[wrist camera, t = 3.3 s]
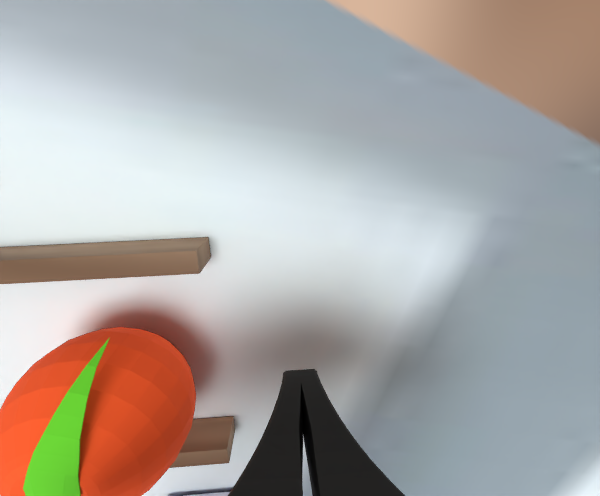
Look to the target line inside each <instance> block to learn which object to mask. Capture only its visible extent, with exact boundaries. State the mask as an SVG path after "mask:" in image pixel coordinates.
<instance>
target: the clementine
mask: <svg viewBox="0 0 600 496" xmlns="http://www.w3.org/2000/svg"><path fill="white" fill-rule="evenodd" d="M195 401H196V391H195V386H194V380H193V376H192V372H191V368H190V366H189V365H188V363H187V361H186V360H185V358H184V356H183V355H182V354H181V353H180V352H179V351H178V350H177V349H176V348H175V347H174V346H173V345H172V344H171V343H170V342H169V341H168V340H166V339H164V338H163V337H161V336H159V335H158V334H155V333H152V332H149V331H146V330H141V329H134V328H125V327H115V328H106V329H100V330H97V331H94V332H90V333H87V334H84V335H82V336H79V337H76V338H73V339H70V340H68V341H66V342H65V343H63V344H62V345H60V346H59V347H57V348H56V349H54V350H53V351H51V352H50V353H48V354H47V355H45V356H44V357H43V358H41V359H40V360H39V361H37V362H36V363H34V364H33V365H32V366H31V368H30V369H29V370H28V371H27V372H26V373H25V374H24V375H23V376H22V377H21V379H20V380H19V381H18V382H17V383H16V384H15V386H14V387H13V389H12V390H11V392H10V393H9V395H8V396H7V397H6V399H5V401H4V403H3V405H2V407H1V409H0V495H1V496H141V495H143V494H144V493H146V492H147V491H149V490H150V488H151V487H152V486H153V485H154V484H155V483H156V482H157V481H158V480H159V479H160V478H161V477H162V475H163V474H164V473H165V472H166V471H167V470H168V468H169V467H170V466H171V465H172V464H173V463H174V461H175V460H176V458H177V456H178V454H179V452H180V450H181V448H182V446H183V444H184V442H185V440H186V438H187V435H188V433H189V431H190V429H191V427H192V421H193V416H194V411H195Z"/></svg>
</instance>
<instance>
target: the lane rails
mask: <svg viewBox="0 0 600 496" xmlns="http://www.w3.org/2000/svg"><path fill="white" fill-rule="evenodd" d="M210 258H211V253H210V246H209V239H208V237H202V238H182V239H161V240H140V241H119V242H99V243H78V244H57V245H37V246H16V247H0V284H12V283H30V282H49V281H68V280H87V279H105V278H124V277H143V276H161V275H180V274H199V273H200V272H201V271H202V269H203V268H204V267H205V265H206V264H207V262H208V261H209V259H210ZM234 432H235V426H234V418H233V416H231V417H218V418H204V419H193V421H192V427H191V429H190V431H189V433H188V435H187V438H186V440H185V442H184V444H183V446H182V448H181V450H180V452H179V454H178V456H177V458H176V460H175V461H174V463H173V464H172V465H171V466H170V467H169V468H173V467H185V466H197V465H210V464H222V463H229V461H230V455H231V449H232V443H233V438H234Z"/></svg>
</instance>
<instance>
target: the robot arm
mask: <svg viewBox="0 0 600 496" xmlns="http://www.w3.org/2000/svg"><path fill="white" fill-rule="evenodd" d="M303 436H304V442H305V449H306V455H307V462H308V468H309V474H310V481H311V487H312V494H313V496H405V495H404V494H403V493H402V492H401V491H400V490H399V489H398V488H397V487H396V486H395V485H394V484H393V483H392V482H391V481H390V480H389V479H388V478H387V477H386V476H385V475H384V473H383V472H382V471H381V470H380V469H379V468H378V467H377V466H376V465H375V464H374V462H373V461H372V460H371V459H370V458H369V457H368V455H367V454H366V453H365V452H364V451H363V449H362V448H361V447H360V445H359V444H358V443H357V442H356V440H355V439H354V438H353V436H352V435H351V433H350V432H349V431H348V429H347V428H346V426H345V425H344V423H343V422H342V420H341V419H340V417H339V415H338V414H337V412H336V410H335V409H334V407H333V405H332V404H331V402H330V400H329V398H328V396H327V394H326V392H325V390H324V388H323V386H322V384H321V382H320V379H319V377H318V374H317V371H316V370H315V369H307V370H291V371H285V372H284V373H283V380H282V385H281V389H280V392H279V396H278V399H277V401H276V404H275V407H274V410H273V413H272V415H271V418H270V420H269V422H268V425H267V427H266V429H265V432H264V434H263V436H262V438H261V440H260V442H259V444H258V446H257V448H256V450H255V452H254V454H253V456H252V457H251V459H250V461H249V463H248V464H247V466H246V468H245V470H244V471H243V473H242V475H241V476H240V478H239V479H238V481H237V483H236V484H235V486H234V487H233V489H232V490H231V492H220V493H208V494H197V495H185V496H303V490H302V462H303Z"/></svg>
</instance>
